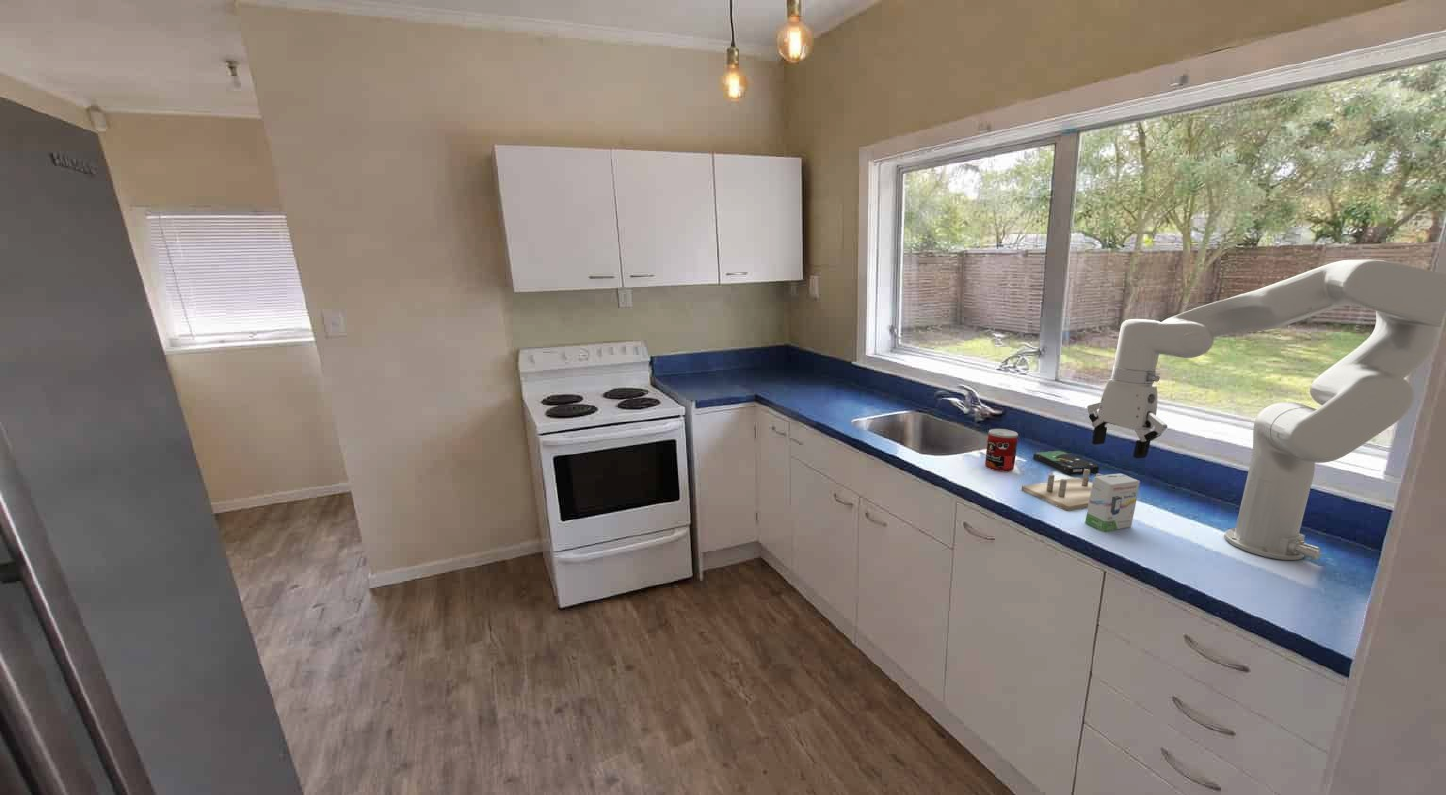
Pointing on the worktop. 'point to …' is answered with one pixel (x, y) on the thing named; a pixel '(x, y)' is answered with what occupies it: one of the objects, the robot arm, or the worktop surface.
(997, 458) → the canned food
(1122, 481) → the ink box
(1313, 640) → the worktop surface
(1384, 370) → the robot arm
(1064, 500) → the pin tray
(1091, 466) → the disk drive
